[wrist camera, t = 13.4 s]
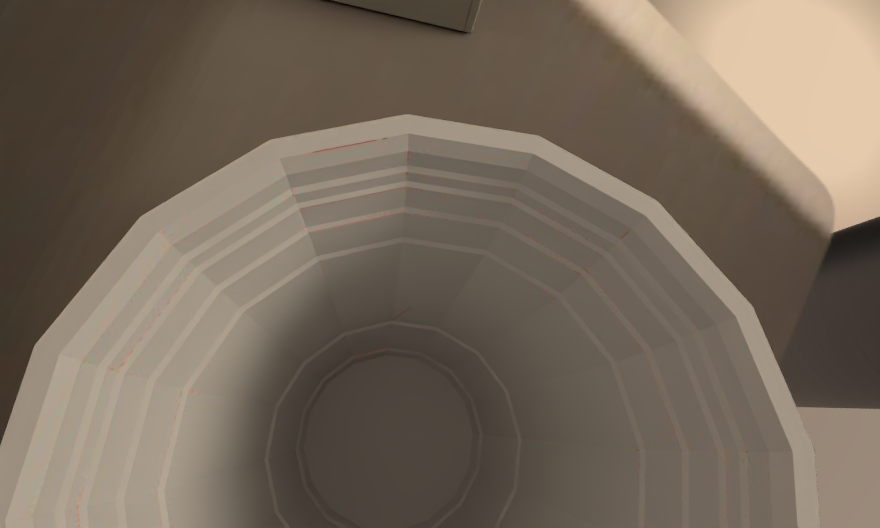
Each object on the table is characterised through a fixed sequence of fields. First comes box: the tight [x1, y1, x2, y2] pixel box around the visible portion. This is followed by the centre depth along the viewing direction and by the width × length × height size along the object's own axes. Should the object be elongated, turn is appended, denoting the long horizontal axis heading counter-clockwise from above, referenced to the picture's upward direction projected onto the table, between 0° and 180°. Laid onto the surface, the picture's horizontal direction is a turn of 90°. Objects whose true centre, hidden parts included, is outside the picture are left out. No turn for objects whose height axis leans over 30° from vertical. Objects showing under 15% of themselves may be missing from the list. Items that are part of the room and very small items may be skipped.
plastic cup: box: [0, 114, 821, 528], centre depth 13 cm, size 11×11×12 cm
